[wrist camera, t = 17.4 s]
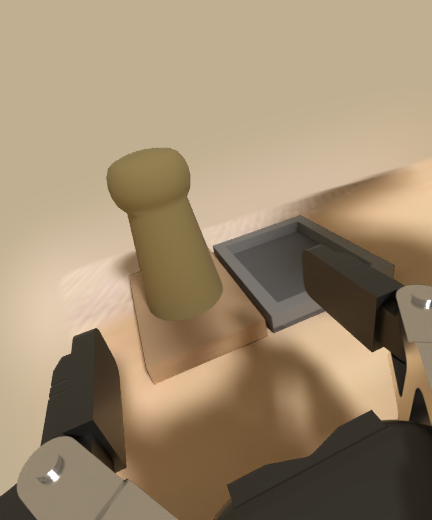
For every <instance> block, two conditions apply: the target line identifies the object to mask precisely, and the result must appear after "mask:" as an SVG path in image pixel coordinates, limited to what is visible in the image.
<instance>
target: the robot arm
mask: <svg viewBox="0 0 432 520" xmlns="http://www.w3.org/2000/svg"><path fill="white" fill-rule="evenodd" d="M302 267H303V282H304V287H305V290H306V292H307V294H308V295H309V296H310V297H311V298H312V299H313V300H314V301H315V302H316V303H317V304H318V305H319V306H321V307H322V308H323V309H324V310H325V311H326V312H327V313H328V314H330V315H331V316H332V317H333V318H334V319H335V320H336V321H337V322H338V323H340V324H341V325H342V326H343V327H344V328H345V329H346V330H347V331H349V332H350V333H351V334H352V335H353V336H354V337H355V338H356V339H358V340H359V341H360V342H361V343H362V344H363V345H364V346H365V347H367V348H368V349H369V350H370V351H371V352H374V351H376V350H378V349H380V348H382V347H385V348H386V349H388V350H389V353H388V359H389V365H390V370H391V375H392V380H393V385H394V390H395V396H396V401H397V407H398V420H382V421H381V420H380V419H379V418H378V416H377V415H376V414H375V413H374V412H373V411H372V410H370V411H368V412H367V413H365V414H363V415H361V416H359V417H357V418H355V419H353V420H351V421H349V422H347V423H345V424H343V425H341V426H340V427H338V428H337V429H336V430H335V431H334V432H333V433H332V434H331V435H330V436H329V437H328V438H327V439H326V440H325V441H324V443H323V444H322V445H321V446H320V447H319V448H318V449H317V450H316V451H315V452H314V453H313V454H311V455H310V456H308V457H305V458H299V459H294V460H289V461H284V462H279V463H273V464H268V465H264V466H263V467H261V468H259V469H257V470H255V471H253V472H251V473H249V474H247V475H245V476H243V477H241V478H239V479H238V480H236V481H234V482H232V483H230V484H228V485H227V487H228V490H229V493H230V496H231V499H230V500H229V501H228V502H227V503H226V504H225V505H224V506H223V507H222V508H221V509H220V511H219V512H218V513H217V514H216V516H215V518H214V519H213V520H432V287H431V286H427V285H408V286H404V285H402V284H401V283H399V282H397V281H395V280H394V279H392V278H390V277H389V276H387V275H385V274H383V273H382V272H380V271H378V270H377V269H375V268H372V267H371V266H370V265H368V264H366V263H363V262H362V261H361V260H359V259H358V258H356V257H354V256H352V255H350V254H346V253H342V252H335V251H333V250H331V249H330V248H328V247H326V246H325V245H322V244H320V245H318V246H315V247H312V248H310V249H307V250H305V251H303V253H302ZM51 387H52V388H50V394H49V398H50V399H49V401H48V406H47V411H46V418H45V423H44V429H43V435H42V441H41V446H40V448H38V449H37V450H36V451H35V452H34V453H33V454H32V455H31V456H30V458H29V459H28V460H27V462H26V463H25V465H24V466H23V468H22V470H21V472H20V475H19V478H18V482H17V484H15V485H14V486H13V487H12V488H11V489H10V490H8V491H7V492H6V493H4V494H3V495H2V496H0V520H178V519H177V518H176V517H174V516H173V515H172V514H171V513H169V512H168V511H167V510H166V509H165V508H163V507H162V506H161V505H160V504H158V503H157V502H156V501H155V500H154V499H152V498H151V497H150V496H149V495H147V494H146V493H145V492H144V491H143V490H141V489H140V488H139V487H138V486H136V485H135V484H134V483H132V482H131V481H130V480H128V479H126V480H123V479H122V478H120V477H119V476H118V475H117V474H115V473H116V472H118V471H120V470H123V469H125V468H126V455H125V442H124V429H123V417H122V404H121V391H120V378H119V371H118V367H117V364H116V361H115V359H114V357H113V355H112V353H111V351H110V350H109V348H108V346H107V344H106V342H105V340H104V339H103V337H102V335H101V333H100V331H99V330H98V329H97V328H95V329H92V330H90V331H87V332H84V333H82V334H79V335H76V336H74V337H73V342H72V351H71V354H69V355H66V356H64V357H62V358H61V360H60V361H59V363H58V364H57V366H56V368H55V370H54V371H53V376H52V383H51Z"/></svg>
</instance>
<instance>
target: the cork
mask: <svg viewBox="0 0 432 520" xmlns="http://www.w3.org/2000/svg"><path fill="white" fill-rule="evenodd" d="M107 185H108V190H109V192H110V194H111V197H112V199H113V201H114V202H115V203H116V205H117V206H118V207H119V208H120V209H122V210H123V211H124V212H126V213H127V214H128V219H129V223H130V227H131V232H132V236H133V240H134V245H135V249H136V253H137V258H138V262H139V266H140V271H141V275H142V280H143V284H144V288H145V293H146V297H147V301H148V306H149V309H150V312H151V313H152V314H153V315H154V316H155V317H157V318H160V319H163V320H167V321H180V320H185V319H190V318H193V317H195V316H198V315H200V314H203V313H204V312H206V311H207V310H209V309H210V308H212V307H213V306H214V305H215V304H216V303H217V301H218V300H219V299H220V297H221V295H222V292H223V286H222V282H221V279H220V277H219V274H218V272H217V270H216V267H215V265H214V262H213V260H212V257H211V255H210V252H209V250H208V247H207V245H206V242H205V240H204V237H203V235H202V232H201V230H200V228H199V225H198V223H197V220H196V218H195V215H194V213H193V210H192V208H191V205H190V203H189V200H188V198H187V195H188V192H189V189H190V172H189V168H188V165H187V163H186V161H185V159H184V158H183V156H181V154H180V153H179V152H178V151H176V150H173V149H171V148H151V149H144V150H141V151H136V152H133V153H131V154H128V155H126V156H124V157H122V158H120V159H119V160H117V161H115V162H114V163H113V164H112V165H111V166H110V167H109V168H108V172H107Z"/></svg>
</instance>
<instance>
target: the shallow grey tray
mask: <svg viewBox="0 0 432 520" xmlns="http://www.w3.org/2000/svg"><path fill="white" fill-rule="evenodd" d="M320 244H322V245H325V246H326V247H328V248H330V249H331V250H333V251H335V252H342V253H346V254H350V255H352V256H354V257H356V258H358V259H359V260H361V261H362V262H363V263H366V264H368V265H370V266H371V267H372V268H375V269H377V270H378V271H380V272H382V273H383V274H385V275H387V276H389V277H390V278H392V279H393V275H394V267H395V265H393V264H391V263H389V262H387V261H385V260H384V259H382V258H380V257H378V256H376V255H374V254H372V253H370V252H368V251H367V250H365V249H363V248H361V247H359V246H357V245H355V244H353V243H352V242H350V241H348V240H346V239H344V238H342V237H340V236H338V235H336V234H335V233H333V232H331V231H329V230H327V229H325V228H323V227H321V226H320V225H318V224H316V223H314V222H312V221H310V220H308V219H306V218H304V217H303V216H301V215H300V216H297V217H294V218H291V219H289V220H286V221H283V222H280V223H277V224H274V225H271V226H268V227H266V228H263V229H260V230H257V231H254V232H251V233H248V234H246V235H243V236H240V237H237V238H234V239H231V240H228V241H226V242H223V243H220V244H217V245H214V246H213V249H214V253H215V257H216V258H217V259H218V261H219V262H220V263H221V264H222V266H223V267H224V268H225V269H226V271H227V272H228V273H229V275H230V276H231V277H232V278H233V280H234V281H235V282H236V283H237V285H238V286H239V287H240V288H241V290H242V291H243V292H244V294H245V295H246V296H247V297H248V299H249V300H250V301H251V302H252V304H253V305H254V306H255V307H256V309H257V310H258V311H259V312H260V314H261V315H262V316H263V318H264V319H265V322H266V323H267V325H268V326H269V327H270V329H271V330H272V331H273V332H274V333H275V332H277V331H280V330H282V329H284V328H287V327H289V326H291V325H294V324H296V323H298V322H301V321H303V320H305V319H308V318H310V317H312V316H315V315H317V314H319V313H322V312H324V311H325V310H324V309H323V308H322V307H321V306H319V305H318V304H317V303H316V302H315V301H314V300H313V299H312V298H311V297H310V296H309V295H308V294H307V292H306V290H305V287H304V282H303V267H302V253H303V251H305V250H307V249H310V248H312V247H315V246H318V245H320Z"/></svg>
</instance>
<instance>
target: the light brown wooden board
mask: <svg viewBox="0 0 432 520" xmlns="http://www.w3.org/2000/svg"><path fill="white" fill-rule="evenodd" d="M208 250H209V252H210V255H211V257H212V260H213V262H214V265H215V267H216V270H217V272H218V274H219V277H220V279H221V282H222V286H223V292H222V295H221V297H220V299H219V300H218V301H217V303H216V304H215V305H214V306H213V307H212V308H210V309H209V310H207V311H206V312H204V313H203V314H200V315H198V316H195V317H193V318H190V319H185V320H180V321H167V320H163V319H160V318H157V317H155V316H154V315H153V314H152V313H151V312H150V309H149V306H148V301H147V297H146V293H145V288H144V284H143V280H142V275H141V271H140V272H137V273H134V274H131V275H129V278H130V283H131V288H132V294H133V299H134V304H135V310H136V315H137V321H138V326H139V331H140V337H141V342H142V347H143V353H144V358H145V363H146V369H147V371H148V373H149V375H150V377H151V379H152V381H153V383H154V384H156V383H158V382H161V381H163V380H165V379H168V378H170V377H172V376H175V375H177V374H179V373H182V372H184V371H186V370H189V369H191V368H193V367H196V366H198V365H200V364H203V363H205V362H207V361H210V360H212V359H214V358H217V357H219V356H221V355H224V354H226V353H228V352H231V351H233V350H235V349H238V348H240V347H242V346H245V345H247V344H249V343H252V342H254V341H256V340H259V339H261V338H263V337H266V336H267V330H266V323H265V319H264V318H263V316H262V315H261V314H260V312H259V311H258V310H257V309H256V307H255V306H254V305H253V304H252V302H251V301H250V300H249V299H248V297H247V296H246V295H245V294H244V292H243V291H242V290H241V288H240V287H239V286H238V285H237V283H236V282H235V281H234V280H233V278H232V277H231V276H230V275H229V273H228V272H227V271H226V269H225V268H224V267H223V266H222V264H221V263H220V262H219V261H218V259H217V258H216V257H215V256H214V254H213V253H212V252H211V250H210V249H209V248H208Z"/></svg>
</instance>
